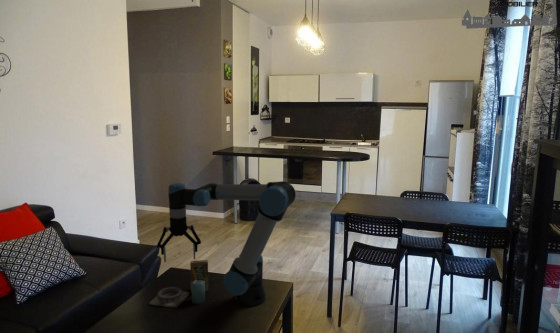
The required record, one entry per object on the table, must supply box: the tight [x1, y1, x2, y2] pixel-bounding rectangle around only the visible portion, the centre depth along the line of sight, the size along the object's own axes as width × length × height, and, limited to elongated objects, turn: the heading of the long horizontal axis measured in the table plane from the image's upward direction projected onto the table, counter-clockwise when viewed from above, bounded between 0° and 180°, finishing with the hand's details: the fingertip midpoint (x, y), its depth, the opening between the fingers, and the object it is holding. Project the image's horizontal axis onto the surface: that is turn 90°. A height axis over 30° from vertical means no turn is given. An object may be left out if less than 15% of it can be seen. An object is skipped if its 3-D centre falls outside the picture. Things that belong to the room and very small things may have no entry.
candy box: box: [190, 259, 209, 293], centre depth 193 cm, size 9×4×15 cm, turn 103°
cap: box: [191, 280, 206, 305], centre depth 183 cm, size 6×6×10 cm
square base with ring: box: [148, 286, 191, 309], centre depth 184 cm, size 14×14×4 cm
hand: (179, 259), depth 180 cm, fingers open, 13 cm apart
